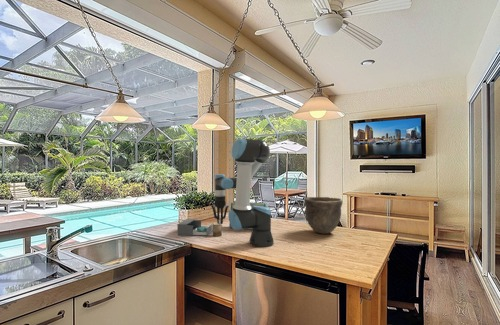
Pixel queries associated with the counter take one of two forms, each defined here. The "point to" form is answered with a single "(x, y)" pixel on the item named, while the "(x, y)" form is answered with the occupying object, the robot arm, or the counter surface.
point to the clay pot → (323, 213)
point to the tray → (204, 232)
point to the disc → (202, 228)
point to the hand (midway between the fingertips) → (220, 228)
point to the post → (217, 230)
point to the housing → (187, 227)
